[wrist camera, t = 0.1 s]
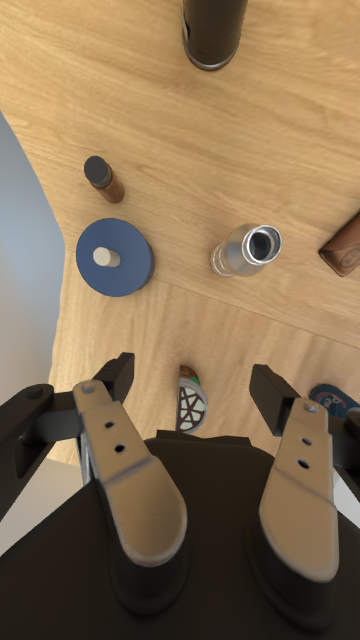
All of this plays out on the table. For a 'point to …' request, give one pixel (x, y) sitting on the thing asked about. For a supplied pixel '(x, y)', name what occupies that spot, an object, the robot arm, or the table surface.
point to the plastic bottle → (246, 250)
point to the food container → (190, 402)
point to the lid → (113, 257)
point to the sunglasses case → (344, 249)
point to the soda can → (334, 401)
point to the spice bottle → (104, 179)
